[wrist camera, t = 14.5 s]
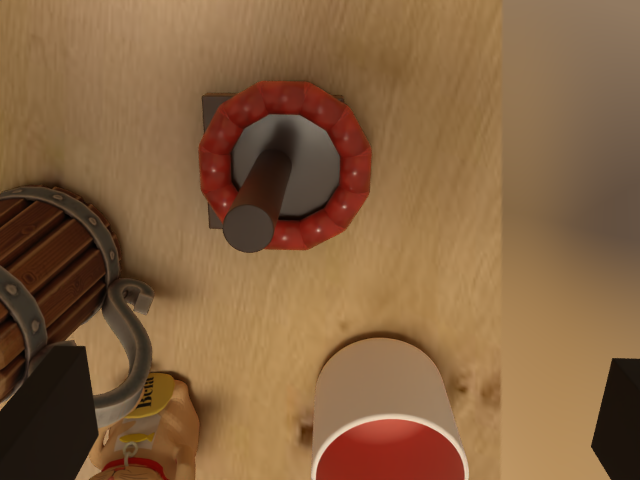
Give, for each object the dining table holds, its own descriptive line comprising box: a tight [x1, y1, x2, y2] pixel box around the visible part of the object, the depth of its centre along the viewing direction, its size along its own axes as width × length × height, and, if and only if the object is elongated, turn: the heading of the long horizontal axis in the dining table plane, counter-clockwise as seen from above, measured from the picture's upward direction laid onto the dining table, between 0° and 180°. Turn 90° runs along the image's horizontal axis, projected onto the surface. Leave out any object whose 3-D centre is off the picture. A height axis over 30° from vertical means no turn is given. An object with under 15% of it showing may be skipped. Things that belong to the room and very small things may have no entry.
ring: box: [198, 81, 372, 250], centre depth 37 cm, size 11×11×2 cm
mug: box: [0, 185, 154, 428], centre depth 35 cm, size 16×11×15 cm
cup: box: [311, 338, 469, 480], centre depth 41 cm, size 10×10×10 cm
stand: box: [202, 93, 344, 253], centre depth 33 cm, size 9×9×14 cm
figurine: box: [89, 373, 200, 480], centre depth 40 cm, size 9×10×15 cm
